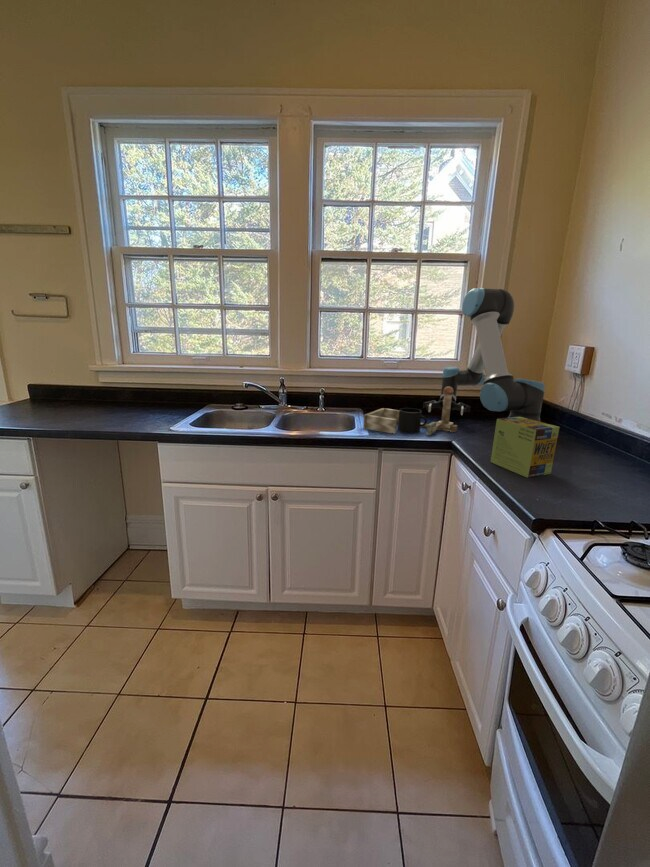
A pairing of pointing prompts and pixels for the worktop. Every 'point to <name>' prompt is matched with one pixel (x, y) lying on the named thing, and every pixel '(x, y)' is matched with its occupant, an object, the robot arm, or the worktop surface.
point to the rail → (453, 428)
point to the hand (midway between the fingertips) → (445, 410)
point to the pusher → (443, 413)
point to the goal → (382, 420)
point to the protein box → (524, 446)
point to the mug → (410, 420)
